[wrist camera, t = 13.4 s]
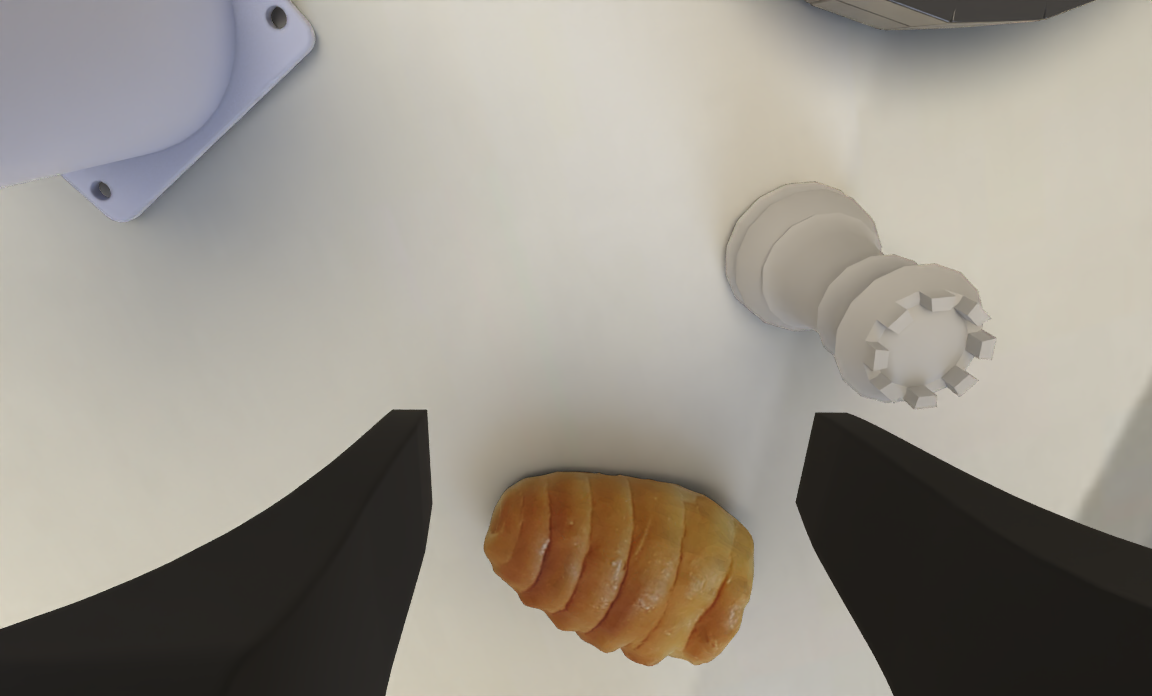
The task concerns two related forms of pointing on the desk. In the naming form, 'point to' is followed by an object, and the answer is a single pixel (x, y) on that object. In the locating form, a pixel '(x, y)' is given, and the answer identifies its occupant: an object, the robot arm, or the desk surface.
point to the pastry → (625, 562)
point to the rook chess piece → (857, 295)
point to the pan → (945, 12)
